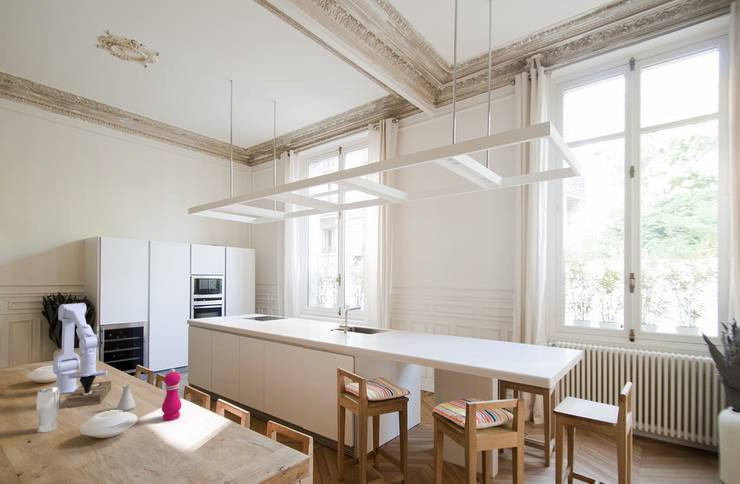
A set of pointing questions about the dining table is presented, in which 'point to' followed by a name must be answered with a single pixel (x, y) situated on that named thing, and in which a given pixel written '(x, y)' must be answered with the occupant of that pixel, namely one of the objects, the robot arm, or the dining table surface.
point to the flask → (126, 399)
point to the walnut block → (92, 399)
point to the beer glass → (47, 408)
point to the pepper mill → (171, 397)
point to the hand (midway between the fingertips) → (87, 392)
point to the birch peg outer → (87, 393)
